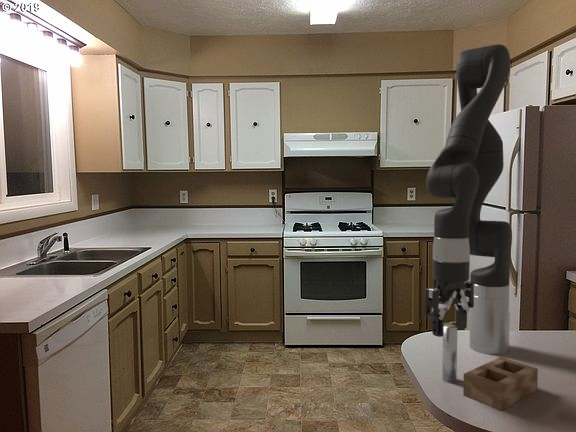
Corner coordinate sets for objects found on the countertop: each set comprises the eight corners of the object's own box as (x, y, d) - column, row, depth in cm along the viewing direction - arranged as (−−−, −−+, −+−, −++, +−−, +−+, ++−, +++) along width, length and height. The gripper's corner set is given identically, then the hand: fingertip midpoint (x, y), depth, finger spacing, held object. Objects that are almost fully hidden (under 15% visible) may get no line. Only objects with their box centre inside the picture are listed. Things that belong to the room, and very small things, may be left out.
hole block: (500, 376, 101) (500, 356, 101) (537, 389, 95) (537, 368, 94) (463, 395, 93) (463, 373, 93) (501, 410, 87) (501, 387, 86)
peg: (447, 375, 102) (448, 323, 101) (459, 380, 100) (460, 326, 99) (439, 379, 101) (439, 326, 100) (451, 383, 98) (451, 329, 97)
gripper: (455, 252, 105) (454, 321, 106) (415, 259, 97) (414, 333, 98) (485, 256, 99) (484, 329, 100) (446, 263, 91) (444, 343, 92)
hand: (449, 331), depth 99 cm, fingers open, 8 cm apart
